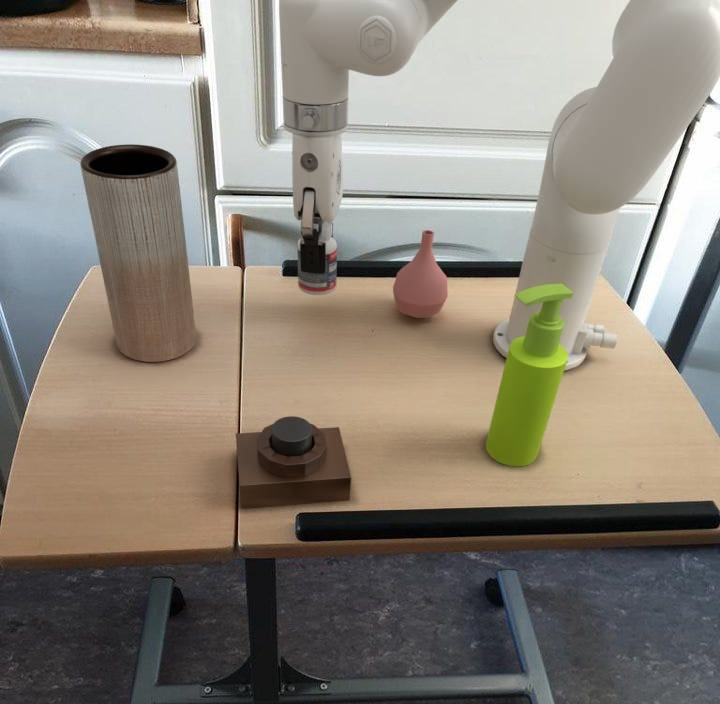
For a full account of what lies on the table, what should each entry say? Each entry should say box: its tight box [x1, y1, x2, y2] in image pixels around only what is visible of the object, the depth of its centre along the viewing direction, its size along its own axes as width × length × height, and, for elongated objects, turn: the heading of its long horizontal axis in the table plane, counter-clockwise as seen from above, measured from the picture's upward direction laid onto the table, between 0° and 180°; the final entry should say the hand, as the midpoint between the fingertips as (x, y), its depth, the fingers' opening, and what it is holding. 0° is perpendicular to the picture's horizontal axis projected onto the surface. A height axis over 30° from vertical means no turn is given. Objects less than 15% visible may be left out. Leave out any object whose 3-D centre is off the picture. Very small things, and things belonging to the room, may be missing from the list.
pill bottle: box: [296, 217, 338, 296], centre depth 93 cm, size 5×5×9 cm
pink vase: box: [392, 229, 449, 319], centre depth 96 cm, size 8×8×12 cm
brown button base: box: [235, 423, 352, 509], centre depth 72 cm, size 11×8×5 cm
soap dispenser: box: [485, 284, 573, 467], centre depth 73 cm, size 6×7×20 cm
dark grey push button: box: [272, 415, 312, 457], centre depth 70 cm, size 4×4×2 cm
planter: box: [79, 143, 197, 363], centre depth 83 cm, size 10×10×23 cm
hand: (317, 260), depth 94 cm, fingers closed on pill bottle, 5 cm apart
